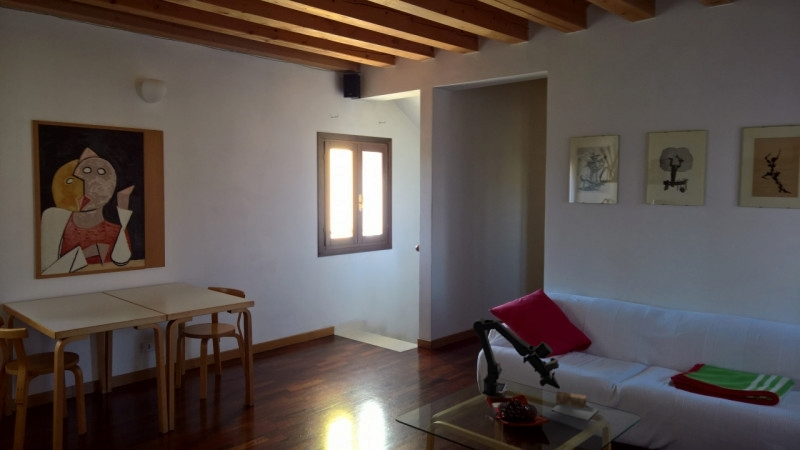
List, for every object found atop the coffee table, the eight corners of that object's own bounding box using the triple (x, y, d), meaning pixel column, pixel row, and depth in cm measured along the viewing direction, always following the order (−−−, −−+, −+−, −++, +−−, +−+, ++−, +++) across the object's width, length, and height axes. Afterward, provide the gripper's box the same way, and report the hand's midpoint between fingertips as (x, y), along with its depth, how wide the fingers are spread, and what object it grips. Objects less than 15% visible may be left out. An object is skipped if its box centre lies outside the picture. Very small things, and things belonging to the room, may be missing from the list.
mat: (551, 410, 288) (551, 409, 287) (562, 401, 298) (562, 400, 298) (587, 420, 277) (587, 419, 277) (598, 410, 288) (598, 409, 288)
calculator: (491, 402, 289) (521, 400, 289) (491, 410, 290) (521, 408, 290) (495, 412, 278) (527, 410, 278) (495, 420, 279) (527, 418, 279)
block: (556, 394, 294) (585, 398, 289) (557, 391, 299) (586, 395, 293) (556, 403, 295) (585, 407, 290) (557, 399, 299) (586, 404, 294)
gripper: (547, 360, 287) (570, 385, 284) (551, 348, 304) (573, 372, 302) (530, 374, 291) (552, 398, 288) (535, 361, 308) (556, 385, 305)
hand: (559, 388), depth 296 cm, fingers closed
